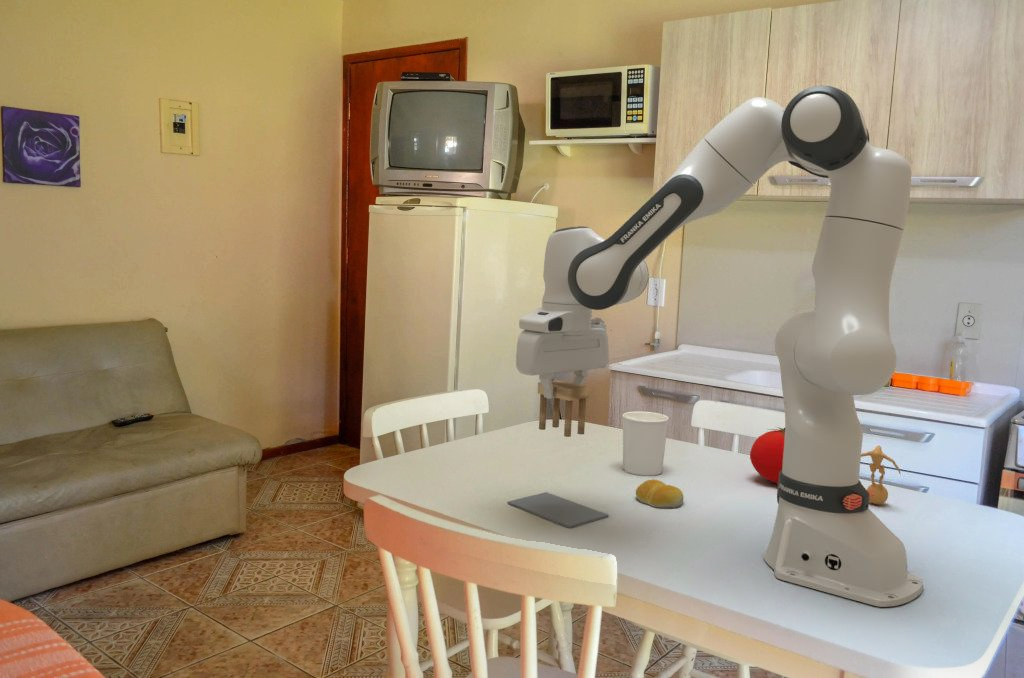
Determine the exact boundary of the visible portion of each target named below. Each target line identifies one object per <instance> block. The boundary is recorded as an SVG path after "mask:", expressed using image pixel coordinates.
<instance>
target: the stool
mask: <svg viewBox="0 0 1024 678" xmlns="http://www.w3.org/2000/svg"><path fill="white" fill-rule="evenodd" d="M551 382H552V385H553V388H557V392H556V398H553V399H552V400H553V402H552V403H553V405H552V426H551V427H552V428H555V429H556V428H559V427H560V412H561V411H560V408H561V407H560V406H561V400H564V401H565V406H564V407H565V410H564V426H563V427H564V428H563V429H564V431H563V437H566V438H568V437H569V438H570V437H572V422H573V421H572V419H573V418H572V417H573V401H577V400H578V415H577V417H578V418H577V434H578V435H585V425H586V404H587V399H589V398H590V389H591V388H590V386H587V385H584V384H583V385H578V384H574V383H573V382H568V381H564V380H559V379H558V380H551ZM537 394H539V397H540V398H539V414H538V415H539V417H538V418H539V420H538V421H539V422H538V430H541V431H543V430H544V431H545V430H546V427H547V404H548V398H545V397H544V387H543V385H542V383H541V381H540V382H539V381H538V382H537Z"/></svg>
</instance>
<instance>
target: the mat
mask: <svg viewBox="0 0 1024 678" xmlns="http://www.w3.org/2000/svg"><path fill="white" fill-rule="evenodd" d="M507 505H510V506H513V507H515V508H518V509H519V510H522V511H525V512H527V513H529V514H533V515H535V516H537V517H540V518H543V519H545V520H547V521H550V522H553V523H555V524H558V525H560V526H563V527H564V528H565V527H566V528H568V529H571V528H572V529H573V528H575V527H578V526H582V525H585V524H588V523H593V522H596V521H599V520H602V519H606V518H609V516H610V515H609V514H608V513H605V512H602V511H599V510H598V509H594V508H591V507H589V506H586V505H583V504H581V503H577V502H575V501H572V500H570V499H566V498H564V497H561V496H558V495H556V494H553V493H550V492H548V491H547V492H540V493H538V494H533V495H529V496H525V497H521V498H517V499H513V500H509V501H507Z"/></svg>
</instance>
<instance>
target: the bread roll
mask: <svg viewBox="0 0 1024 678" xmlns="http://www.w3.org/2000/svg"><path fill="white" fill-rule="evenodd" d="M635 496H636V498H637V500H639V502H641V503H642V504H646V505H649V506H651V507H654V508H658V509H674V508H676V509H677V508H679V507H680V506H681V505H683V503H684V498H685V497H684V494H683V491H682V490H681V488H679V487H677V486H674V485H669V484H666V483H664V482H663V481H662V480H658V479H655V478H652V479H647V480H645V481H643V482H642V483H641V484H640V485H638V487H636V488H635Z"/></svg>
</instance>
